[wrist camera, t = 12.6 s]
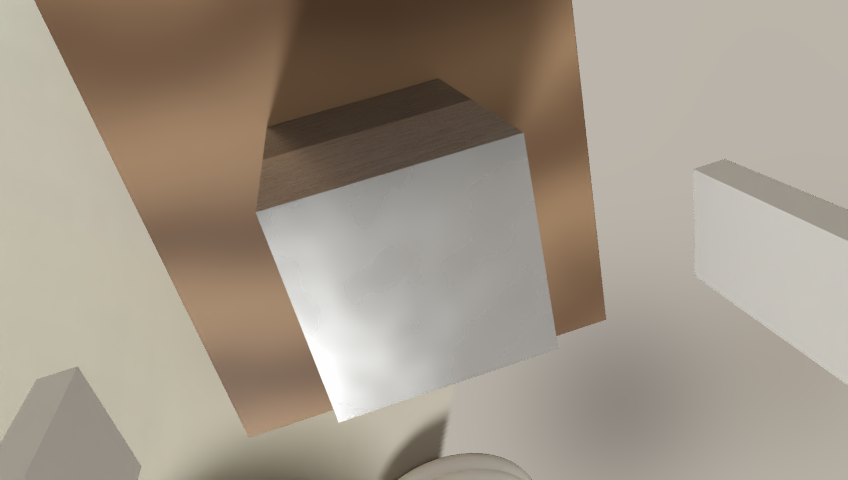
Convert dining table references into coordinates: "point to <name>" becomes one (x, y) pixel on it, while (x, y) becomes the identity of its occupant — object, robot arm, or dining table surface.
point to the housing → (406, 243)
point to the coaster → (468, 469)
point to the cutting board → (296, 97)
